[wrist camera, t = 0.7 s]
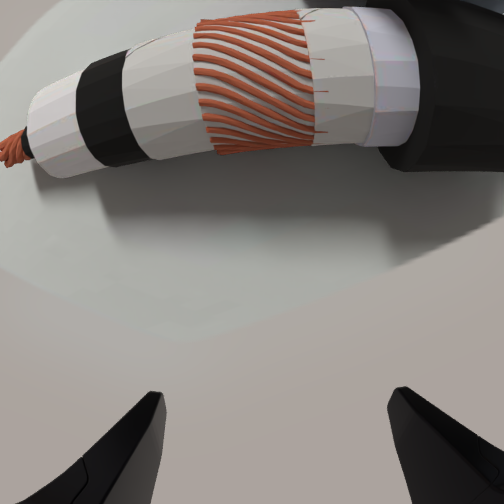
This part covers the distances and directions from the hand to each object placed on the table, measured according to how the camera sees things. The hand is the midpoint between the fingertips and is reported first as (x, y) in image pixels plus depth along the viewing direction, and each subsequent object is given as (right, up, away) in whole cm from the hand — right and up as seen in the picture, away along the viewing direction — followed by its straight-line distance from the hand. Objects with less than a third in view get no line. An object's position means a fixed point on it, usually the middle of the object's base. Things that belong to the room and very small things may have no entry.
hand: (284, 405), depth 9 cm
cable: (-1, +15, +9) cm, 17 cm away
